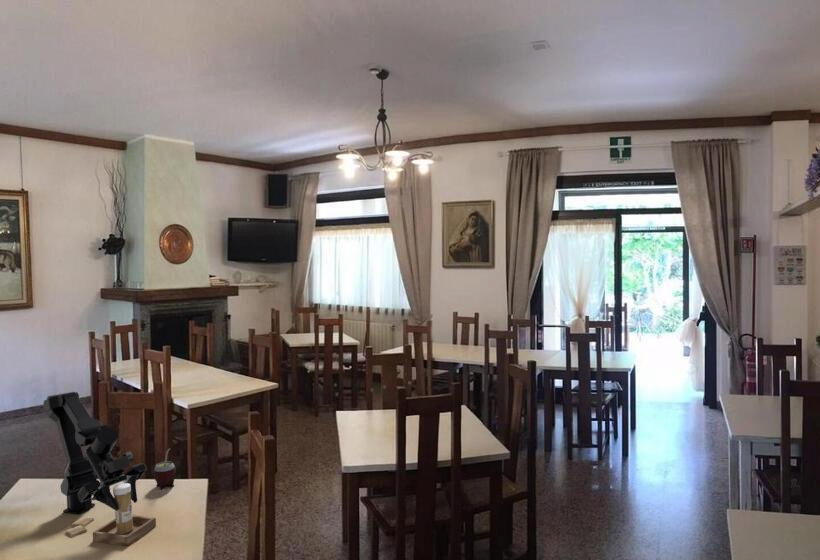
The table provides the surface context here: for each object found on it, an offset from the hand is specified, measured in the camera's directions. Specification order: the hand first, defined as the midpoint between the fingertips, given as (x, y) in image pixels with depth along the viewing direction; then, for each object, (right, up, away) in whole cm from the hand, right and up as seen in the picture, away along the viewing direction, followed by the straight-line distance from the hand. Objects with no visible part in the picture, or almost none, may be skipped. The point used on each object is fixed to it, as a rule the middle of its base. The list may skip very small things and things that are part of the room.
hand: (127, 505), depth 162 cm
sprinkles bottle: (-1, -8, +1) cm, 8 cm away
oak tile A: (-17, -9, +8) cm, 21 cm away
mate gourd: (-3, -7, +34) cm, 34 cm away
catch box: (-1, -8, +1) cm, 9 cm away
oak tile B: (-16, -9, +2) cm, 19 cm away
